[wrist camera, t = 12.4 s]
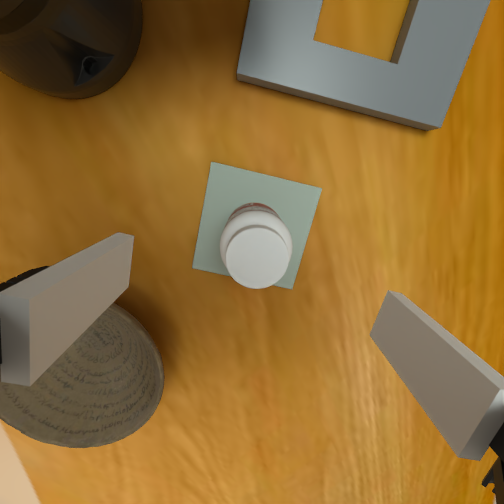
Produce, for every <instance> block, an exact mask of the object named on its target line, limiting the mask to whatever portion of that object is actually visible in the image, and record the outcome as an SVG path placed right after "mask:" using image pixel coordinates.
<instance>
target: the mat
mask: <svg viewBox="0 0 504 504" xmlns="http://www.w3.org/2000/svg"><path fill="white" fill-rule="evenodd" d="M321 190H322V188H318V187H314V186H310V185H306V184H302V183H298V182H294V181H289V180H285V179H281V178H277V177H273V176H269V175H265V174H261V173H257V172H252V171H248V170H244V169H240V168H236V167H232V166H228V165H224V164H220V163H215V162H211V167H210V172H209V178H208V183H207V189H206V194H205V200H204V205H203V211H202V216H201V222H200V227H199V233H198V238H197V244H196V249H195V254H194V260H193V265H192V268H194V269H199V270H203V271H208V272H213V273H217V274H222V275H227V276H231V275H230V274H229V272H228V270H227V268H226V266H225V265H224V263H223V261H222V258H221V254H220V239H221V235H222V232H223V230H224V228H225V226H226V223H227V221H228V219H229V217H230V215H231V214H232V213H233V211H234V210H236V209H237V208H238V207H240V206H241V205H244V204H247V203H262V204H265V205H267V206H269V207H270V208H272V209H273V210H274V211H275V212H276V213H277V214H278V216H279V217H280V218H281V220H282V221H283V222H284V224H285V225H286V227H287V228H288V230H289V232H290V235H291V238H292V244H293V248H292V255H291V259H290V261H289V264H288V267H287V270H286V272H285V274H284V275H283V276H282V278H281V279H280V280H279V281H277V282H276V283H275V284H273V285H274V286H279V287H283V288H288V289H292V288H293V285H294V281H295V278H296V275H297V271H298V268H299V264H300V261H301V258H302V254H303V251H304V248H305V244H306V241H307V237H308V234H309V231H310V227H311V224H312V221H313V217H314V214H315V210H316V207H317V204H318V200H319V197H320V194H321Z"/></svg>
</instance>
